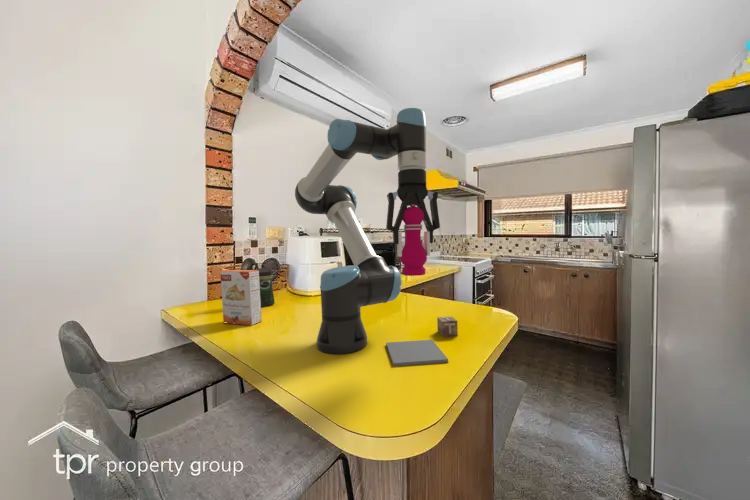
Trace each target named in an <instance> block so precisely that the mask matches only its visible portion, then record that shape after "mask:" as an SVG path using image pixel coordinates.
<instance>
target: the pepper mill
mask: <svg viewBox="0 0 750 500" xmlns="http://www.w3.org/2000/svg"><path fill="white" fill-rule="evenodd" d="M423 219H424V213H423V211H422V209H421V208H419V207H417V206H416V205H414V204H413V205H410V206H407V208H406V211H405V213H404V217H403V219H402V222H403V223H404V225H403V230H404V232H405V241H404V245H403V246H402V257H400V258H399V261H400V262H401V263H402V265H403V267H402V270H401V271H402V272H401V273H402V275H403V276H408V277H409V276H410V277H414V276H415V277H419V276H424V275H426V267H424V265H425V264H426V262H427V260H428V257H427V255H426V252H425V249H424V244H423V242H422V237H421V233H422V232H421V231H422V230H423V224H422V222H423Z"/></svg>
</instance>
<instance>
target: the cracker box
mask: <svg viewBox="0 0 750 500" xmlns="http://www.w3.org/2000/svg"><path fill="white" fill-rule="evenodd" d="M220 283H221V284H220V285H221V300H222V301H221V303H222V304H221V305H222V317H223V318H222V320H223V323H224V322H227V323H226V324H228V323H235V324H234V325H238V324H243V325H242V326H248V325H252V326H255V325H257V324H259V323H261V322H262V307H261V300H260V281H259V270H255V269H227V270H222V271H220ZM256 323H257V324H256ZM254 324H255V325H254Z"/></svg>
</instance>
